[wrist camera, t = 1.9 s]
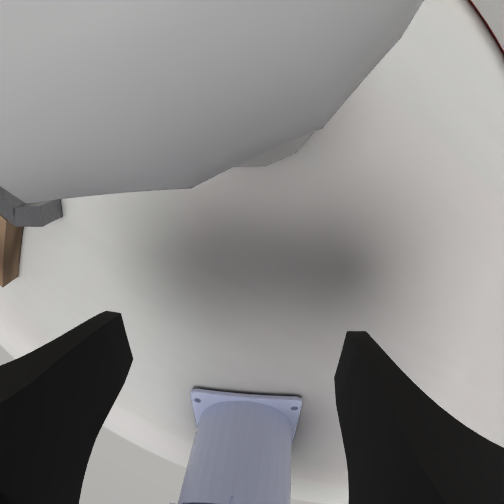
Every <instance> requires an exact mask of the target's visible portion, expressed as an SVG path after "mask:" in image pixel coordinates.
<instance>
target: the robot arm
mask: <svg viewBox="0 0 504 504" xmlns="http://www.w3.org/2000/svg"><path fill="white" fill-rule="evenodd" d="M132 361H133V357H132V353H131V350H130V346H129V343H128V339H127V335H126V331H125V328H124V324H123V320H122V316H121V313H116V312H110V311H105V312H103V313H100V314H98V315H96V316H95V317H93V318H91V319H89V320H87V321H86V322H84V323H82V324H80V325H79V326H77V327H75V328H74V329H72V330H70V331H68V332H67V333H65V334H63V335H62V336H60V337H58V338H56V339H55V340H53V341H51V342H49V343H47V344H45V345H44V346H42V347H40V348H38V349H36V350H34V351H32V352H31V353H28V354H26V355H24V356H22V357H20V358H18V359H15V360H13V361H11V362H8V363H6V364H3V365H1V366H0V504H79V499H80V494H81V488H82V483H83V479H84V475H85V471H86V467H87V464H88V460H89V457H90V454H91V451H92V448H93V445H94V442H95V440H96V437H97V435H98V433H99V431H100V429H101V427H102V425H103V423H104V421H105V419H106V417H107V415H108V413H109V411H110V410H111V408H112V406H113V404H114V402H115V400H116V398H117V396H118V394H119V392H120V391H121V389H122V387H123V385H124V383H125V380H126V377H127V375H128V372H129V369H130V367H131V364H132ZM334 380H335V395H336V406H337V411H338V416H339V422H340V427H341V432H342V437H343V443H344V448H345V454H346V460H347V467H348V481H349V504H504V448H503V447H501V446H499V445H497V444H495V443H493V442H491V441H489V440H487V439H486V438H484V437H482V436H480V435H479V434H477V433H476V432H474V431H473V430H471V429H470V428H468V427H466V426H465V425H463V424H462V423H461V422H459V421H458V420H456V419H455V418H454V417H452V416H451V415H450V414H449V413H447V412H446V411H445V410H444V409H442V408H441V407H440V406H439V405H437V404H436V403H435V402H434V401H433V400H432V399H431V398H429V397H428V396H427V395H426V394H425V393H424V392H423V391H422V390H421V389H420V388H419V387H418V386H417V385H416V384H415V383H414V382H413V381H412V380H411V379H410V378H409V377H408V376H407V375H406V374H405V373H404V372H403V371H402V370H401V369H400V368H399V367H398V366H397V365H396V364H395V363H394V362H393V361H392V359H391V358H390V357H389V356H388V355H387V354H386V353H385V352H384V351H383V350H382V348H381V347H380V346H379V345H378V344H377V343H376V342H375V341H374V340H373V339H372V337H371V336H370V335H369V334H368V333H367V332H366V331H347V333H346V337H345V341H344V345H343V349H342V352H341V356H340V360H339V363H338V367H337V370H336V374H335V377H334ZM190 396H191V401H192V406H193V411H194V416H195V420H196V425H197V432H196V435H195V439H194V443H193V447H192V451H191V454H190V458H189V462H188V466H187V470H186V474H185V478H184V482H183V485H182V489H181V493H180V497H179V501H178V504H290V493H291V446H292V442H293V438H294V435H295V431H296V427H297V423H298V419H299V415H300V411H301V407H302V399H301V398H300V397H294V396H268V395H253V394H240V393H230V392H220V391H212V390H204V389H192V390H191V394H190ZM170 504H174V503H170Z"/></svg>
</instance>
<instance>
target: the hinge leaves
mask: <svg viewBox="0 0 504 504" xmlns="http://www.w3.org/2000/svg"><path fill="white" fill-rule="evenodd" d="M22 233H23V227H15V225H12V224H11V223H10V222H9V221H8V220H7V219H5V218H4V217H3V216H2V215H1V214H0V285H1V286H2V287H4V286H6V285H7V284H8V283H10V282H11V281H12V280H14V279H15V278H16V277H18V272H19V260H20V250H21V241H22Z"/></svg>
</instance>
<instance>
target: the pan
mask: <svg viewBox="0 0 504 504" xmlns="http://www.w3.org/2000/svg"><path fill="white" fill-rule="evenodd" d="M469 1H470V2H471V4H472V5H473V6H474V8H475V9H476V11H477V12H478V13H479V15H480V16H481V18H482V19H483V21H484V22H485V24H486V25H487V27H488V28H489V30H490V32H491V33H492V35H493V36H494V38H495V40H496V41H497V43H498V45H499V46H500V48H501V50H502V52H503V54H504V0H469Z"/></svg>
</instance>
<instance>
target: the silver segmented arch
mask: <svg viewBox="0 0 504 504" xmlns="http://www.w3.org/2000/svg"><path fill="white" fill-rule="evenodd" d="M0 214H1V215H2V216H3V217H4V218H5V219H7V220H8V221H9V222H10V223H11V224H12V225H15V227H43V226H45V225H46V224H48V223H50V222H52V221H54V220H56V219H58V218H60V217H62V210H61V203H60V199H56V200H48V201H41V202H34V203H27V204H26V203H25V202H23V201H21V200H20V199H18V198H17V197H15V196H14V195H12V194H11V193H9V192H8V191H6V190H5V189H3V188H2V187H0Z"/></svg>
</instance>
